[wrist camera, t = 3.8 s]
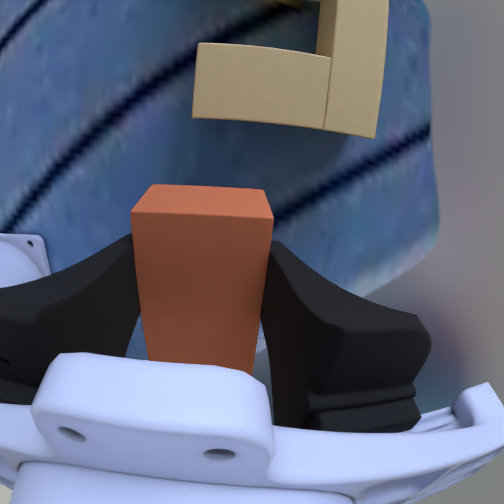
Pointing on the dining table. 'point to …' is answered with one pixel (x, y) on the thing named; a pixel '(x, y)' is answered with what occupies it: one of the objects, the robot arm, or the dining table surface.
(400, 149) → the dining table surface
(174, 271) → the reddish-brown rectangular block
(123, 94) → the dining table surface
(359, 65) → the u-shaped block
